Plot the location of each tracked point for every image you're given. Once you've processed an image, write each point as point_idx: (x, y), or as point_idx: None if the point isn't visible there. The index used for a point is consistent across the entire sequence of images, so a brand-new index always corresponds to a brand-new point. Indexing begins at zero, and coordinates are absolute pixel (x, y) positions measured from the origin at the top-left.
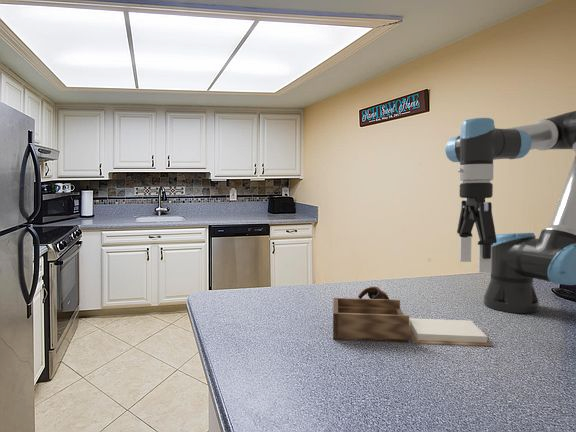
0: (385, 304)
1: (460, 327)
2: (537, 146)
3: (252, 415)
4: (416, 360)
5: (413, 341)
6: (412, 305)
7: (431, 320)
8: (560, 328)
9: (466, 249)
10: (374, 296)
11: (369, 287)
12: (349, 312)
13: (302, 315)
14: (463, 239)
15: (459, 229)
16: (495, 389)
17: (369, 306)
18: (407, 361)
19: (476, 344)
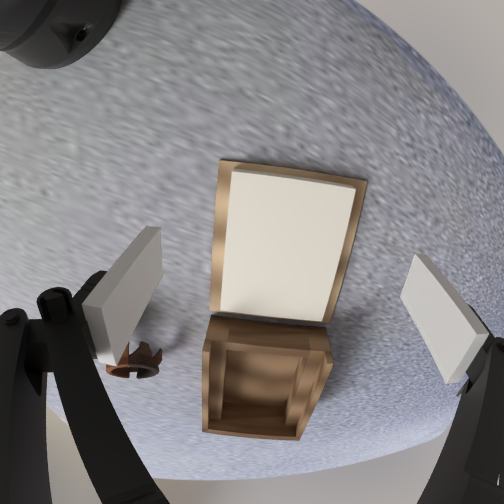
0: (210, 367)
1: (290, 222)
2: None
3: (432, 433)
4: (394, 331)
5: (327, 322)
6: (76, 249)
7: (234, 269)
8: None
9: (139, 286)
10: (150, 369)
11: (109, 372)
12: (222, 402)
13: (186, 422)
14: (117, 344)
15: (44, 385)
16: (487, 264)
17: (210, 385)
18: (393, 342)
19: (359, 213)
